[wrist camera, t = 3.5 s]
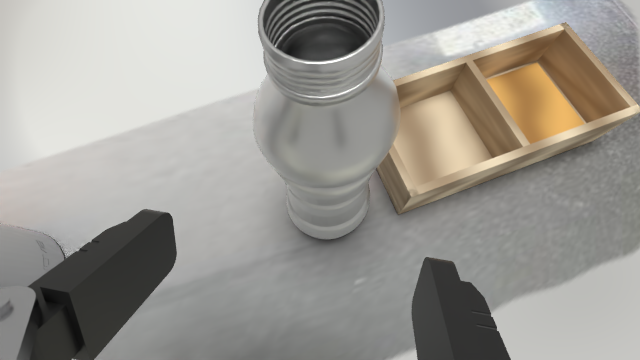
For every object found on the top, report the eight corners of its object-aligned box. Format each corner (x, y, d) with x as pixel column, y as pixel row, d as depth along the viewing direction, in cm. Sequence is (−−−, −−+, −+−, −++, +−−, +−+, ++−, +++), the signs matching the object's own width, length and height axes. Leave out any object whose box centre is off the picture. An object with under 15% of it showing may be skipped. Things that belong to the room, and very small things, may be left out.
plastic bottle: (276, 199, 28) (165, 0, 9) (338, 158, 29) (349, -90, 11) (317, 260, 26) (278, 162, 7) (382, 214, 27) (490, 30, 9)
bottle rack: (398, 214, 27) (411, 197, 23) (354, 123, 31) (358, 92, 26) (595, 140, 29) (646, 109, 24) (534, 61, 32) (569, 21, 28)
